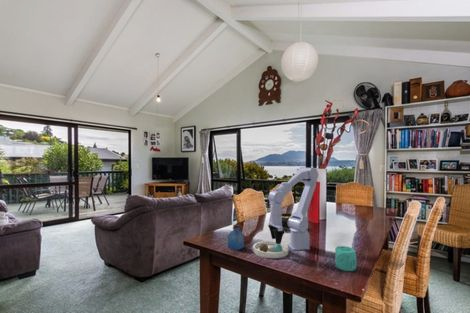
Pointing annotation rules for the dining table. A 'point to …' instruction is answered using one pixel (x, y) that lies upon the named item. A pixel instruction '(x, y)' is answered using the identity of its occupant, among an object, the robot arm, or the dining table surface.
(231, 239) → the perfume bottle
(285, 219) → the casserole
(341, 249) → the decorative dice
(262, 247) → the walnut bead
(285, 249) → the tray
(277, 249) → the teal bead
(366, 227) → the dining table surface
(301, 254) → the dining table surface
